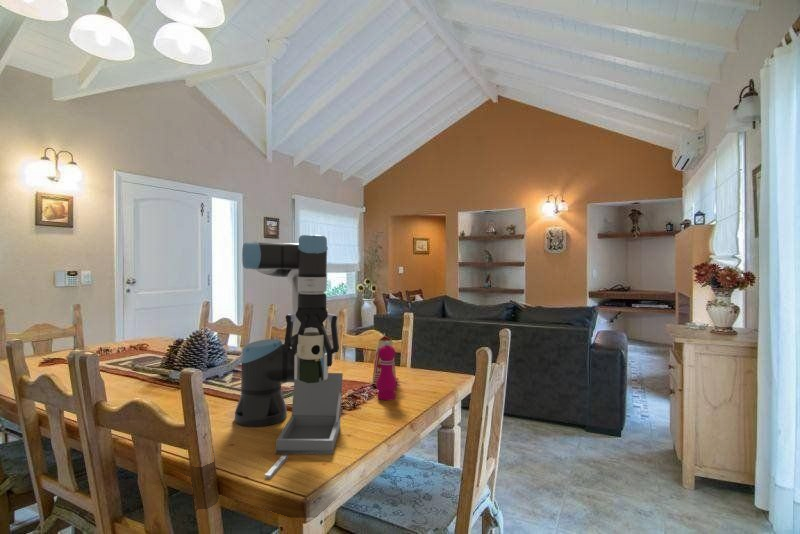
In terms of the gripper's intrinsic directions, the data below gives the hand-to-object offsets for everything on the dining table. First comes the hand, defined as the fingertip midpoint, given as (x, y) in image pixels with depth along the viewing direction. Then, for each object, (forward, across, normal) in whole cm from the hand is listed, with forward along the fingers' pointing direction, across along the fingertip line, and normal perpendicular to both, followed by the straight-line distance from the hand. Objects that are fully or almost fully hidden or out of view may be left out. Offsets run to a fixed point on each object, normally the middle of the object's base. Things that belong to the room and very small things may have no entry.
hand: (311, 377), depth 117 cm
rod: (+17, -5, -15) cm, 24 cm away
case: (+17, 0, +2) cm, 17 cm away
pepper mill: (+17, +20, +36) cm, 45 cm away
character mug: (+1, 0, 0) cm, 1 cm away
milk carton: (+17, +19, +55) cm, 61 cm away
